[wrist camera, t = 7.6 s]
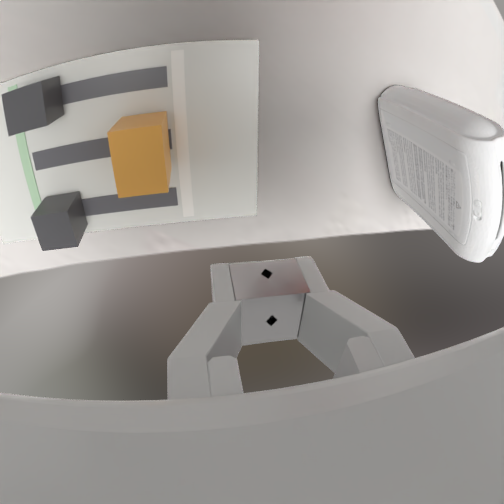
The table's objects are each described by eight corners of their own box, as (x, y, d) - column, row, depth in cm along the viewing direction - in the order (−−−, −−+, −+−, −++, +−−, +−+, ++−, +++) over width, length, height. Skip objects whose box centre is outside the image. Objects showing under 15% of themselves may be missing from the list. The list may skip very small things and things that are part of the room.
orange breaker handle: (166, 111, 19) (161, 125, 16) (171, 167, 21) (168, 192, 18) (121, 116, 18) (107, 132, 15) (129, 172, 21) (118, 198, 18)
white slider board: (254, 40, 18) (270, 38, 15) (253, 206, 26) (265, 237, 22) (-28, 95, 15) (-61, 110, 12) (9, 234, 23) (-12, 266, 19)
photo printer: (425, 182, 27) (512, 259, 18) (389, 197, 28) (472, 285, 18) (411, 79, 21) (530, 126, 11) (369, 91, 22) (485, 143, 12)
